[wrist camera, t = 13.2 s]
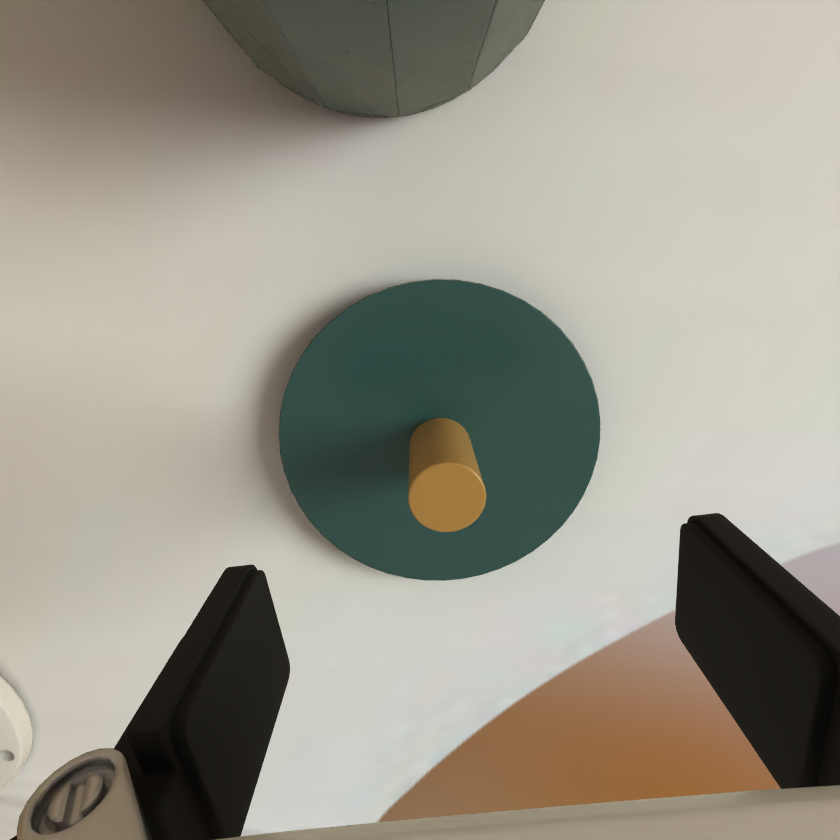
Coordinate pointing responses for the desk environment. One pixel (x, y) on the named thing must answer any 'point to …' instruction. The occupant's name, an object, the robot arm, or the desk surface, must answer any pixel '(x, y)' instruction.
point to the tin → (377, 47)
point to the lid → (439, 430)
